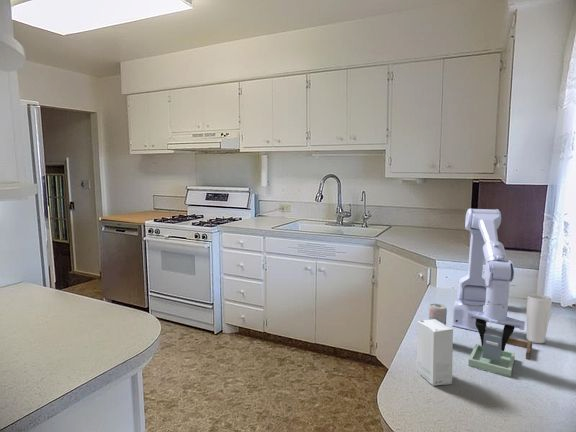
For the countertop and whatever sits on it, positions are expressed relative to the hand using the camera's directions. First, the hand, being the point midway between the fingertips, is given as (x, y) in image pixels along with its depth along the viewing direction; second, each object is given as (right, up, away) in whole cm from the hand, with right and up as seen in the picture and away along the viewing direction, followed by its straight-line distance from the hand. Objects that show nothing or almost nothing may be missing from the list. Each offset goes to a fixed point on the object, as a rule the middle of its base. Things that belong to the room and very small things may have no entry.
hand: (493, 347), depth 112 cm
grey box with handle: (0, -2, 0) cm, 3 cm away
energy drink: (-11, -3, +14) cm, 18 cm away
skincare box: (-21, -6, -8) cm, 23 cm away
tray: (0, -5, +1) cm, 5 cm away
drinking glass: (+23, -4, +16) cm, 28 cm away
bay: (+10, -4, +10) cm, 14 cm away
